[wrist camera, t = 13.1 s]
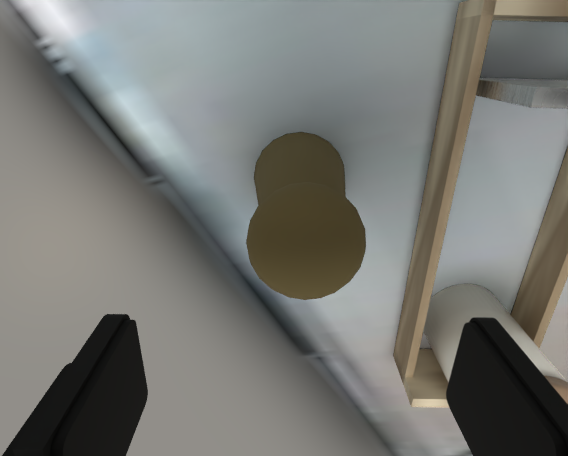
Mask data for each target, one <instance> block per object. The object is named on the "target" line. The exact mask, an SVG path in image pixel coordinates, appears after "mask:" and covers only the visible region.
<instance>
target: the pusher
mask: <svg viewBox="0 0 568 456" xmlns="http://www.w3.org/2000/svg"><path fill="white" fill-rule="evenodd" d="M476 95H477V96H482V97H486V98H490V99H495V100H499V101H504V102H508V103H513V104H517V105H521V106H526V107H530V108H568V80H556V79H510V78H479V83H478V87H477V92H476Z"/></svg>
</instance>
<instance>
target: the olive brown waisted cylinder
mask: <svg viewBox="0 0 568 456" xmlns="http://www.w3.org/2000/svg"><path fill="white" fill-rule="evenodd" d="M254 180H255V186H256V193H257V199H258V205H259V206H258V207H257V209H256V211H255V213H254V215H253V217H252V218H251V220H250V224H249V229H248V235H247V241H246V244H247V249H248V254H249V259H250V262H251V265H252V267H253V268H254V270H255V272H256V273H257V275H258V277H259V278H260V279H261V280H262V281H263V282H264V283H265V284H267V285H268V286H269V287H270V288H271V289H273V290H274V291H276V292H279V293H281V294H283V295H285V296H287V297H290V298H297V299H303V300H307V299H317V298H322V297H325V296H327V295H330V294H332V293H335V292H336V291H338V290H339V289H340V288H342V287H343V286H344V285H346V284H347V283H348V282H349V281H351V279H352V278H353V277H354V275H355V274H356V272H357V271H358V270H359V268H360V267H361V263H362V260H363V257H364V254H365V249H366V238H365V228H364V225H363V223H362V221H361V218H360V216H359V214H358V211H357V209H356V208H355V207H354V206H353V204H352V203H351V202H350V201H349V200H348V199H347V198H346V196H345V173H344V164H343V162H342V160H341V157H340V155H339V153H338V151H337V150H336V149H335V148H334V147H333V146H332V145H331V144H330V143H329V142H328V141H326V140H325V139H323V138H321V137H319V136H317V135H315V134H309V133H304V132H298V133H290V134H286V135H283V136H281V137H279V138H277V139H275V140H273V141H272V142H271V143H270V144H269V145H268V146H267V147H266V148H265V149H264V150H263V151H262V153H261V155H260V157H259V159H258V160H257V162H256V167H255V173H254Z"/></svg>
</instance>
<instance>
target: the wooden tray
mask: <svg viewBox="0 0 568 456" xmlns="http://www.w3.org/2000/svg"><path fill="white" fill-rule="evenodd" d="M492 20H502V21H547V22H568V0H467V1H464V2H461V3H459V7H458V12H457V18H456V23H455V28H454V34H453V39H452V44H451V50H450V55H449V60H448V66H447V71H446V76H445V82H444V87H443V92H442V98H441V103H440V109H439V114H438V119H437V125H436V130H435V135H434V141H433V146H432V151H431V157H430V162H429V167H428V173H427V178H426V183H425V189H424V194H423V200H422V205H421V210H420V216H419V221H418V226H417V232H416V237H415V242H414V248H413V253H412V258H411V264H410V269H409V274H408V280H407V285H406V291H405V296H404V301H403V307H402V312H401V317H400V323H399V328H398V333H397V339H396V344H395V349H394V355H393V356H394V359H395V362H396V365H397V368H398V370H399V373H400V376H401V379H402V382H403V385H404V388H405V390H406V393H407V396H408V399H409V402H410V405H411V407H445V408H450V407H449V405H448V403H447V399H446V390H447V386H448V381H447V379H446V377H445V375H444V373H443V371H442V368H441V366H440V364H439V362H438V360H437V358H436V356H435V354H434V352H433V350H432V349H419V348H420V343H421V339H422V334H423V330H424V325H425V321H426V316H427V312H428V307H429V303H430V298H431V294H432V289H433V285H434V280H435V276H436V271H437V267H438V262H439V258H440V253H441V249H442V244H443V240H444V235H445V231H446V226H447V222H448V217H449V213H450V208H451V204H452V199H453V195H454V190H455V186H456V181H457V177H458V172H459V168H460V163H461V159H462V154H463V150H464V146H465V141H466V137H467V132H468V128H469V123H470V119H471V114H472V110H473V105H474V101H475V96H476V92H477V87H478V83H479V78H480V74H481V69H482V65H483V60H484V56H485V51H486V47H487V42H488V38H489V33H490V29H491V24H492ZM567 277H568V148H567V151H566V154H565V157H564V160H563V163H562V166H561V169H560V172H559V174H558V177H557V180H556V183H555V186H554V189H553V192H552V195H551V198H550V201H549V204H548V207H547V210H546V213H545V216H544V219H543V222H542V225H541V228H540V230H539V233H538V236H537V239H536V242H535V245H534V248H533V251H532V254H531V257H530V260H529V263H528V266H527V269H526V272H525V275H524V278H523V281H522V284H521V286H520V289H519V292H518V295H517V298H516V301H515V304H514V307H513V310H512V313H511V316H512V317H513V318H514V320H515V321H516V322H517V323H518V324H519V325H520V327H521V328H522V329H523V330H524V331H525V332H526V334H527V335H528V336H529V337H530V338H531V339H532V341H533V342H534V343H535V344H536V345H537V347H538V348H540V345H541V343H542V340H543V338H544V335H545V333H546V330H547V328H548V325H549V323H550V320H551V318H552V315H553V313H554V310H555V308H556V305H557V302H558V300H559V297H560V295H561V292H562V290H563V287H564V285H565V282H566V280H567Z"/></svg>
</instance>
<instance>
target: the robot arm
mask: <svg viewBox="0 0 568 456" xmlns="http://www.w3.org/2000/svg"><path fill="white" fill-rule="evenodd" d="M147 395H148V390H147V383H146V378H145V372H144V366H143V360H142V355H141V349H140V343H139V337H138V332H137V326H136V322H135V320H130V318H129V316H128V315H126V314H107V315H105V316H104V317H103V318H102V319H101V321H100V322H99V324H98V325H97V327H96V328H95V330H94V331H93V333H92V334H91V336H90V337H89V338H88V340H87V341H86V343H85V344H84V346H83V347H82V349H81V350H80V352H79V353H78V355H77V356H76V358H75V359H74V361H73V362H72V363H69V364H68V365H66V366H65V367H64V368H63V369H62V371H61V372H60V373H59V375H58V376H57V378H56V379H55V381H54V382H53V384H52V385H51V386H50V388H49V389H48V391H47V392H46V393H45V395H44V397H43V398H42V399H41V401H40V402H39V404H38V405H37V406H36V408H35V409H34V411H33V412H32V414H31V415H30V417H29V418H28V419H27V421H26V422H25V424H24V425H23V426H22V428H21V429H20V431H19V432H18V434H17V435H16V436H15V438H14V439H13V441H12V442H11V444H10V445H9V447H8V448H7V450H6V451H5V452H4V454H3V455H2V456H126V453H127V451H128V448H129V446H130V443H131V440H132V438H133V435H134V433H135V430H136V427H137V425H138V422H139V420H140V417H141V415H142V412H143V409H144V407H145V404H146V401H147ZM446 399H447V403H448V405H449V407H450V409H451V411H452V414H453V416H454V418H455V420H456V422H457V424H458V426H459V428H460V430H461V432H462V434H463V436H464V438H465V440H466V442H467V444H468V446H469V448H470V450H471V452H472V454H473V456H568V404H567V403H566V402H565V400H564V399H563V398H562V397H561V396H560V394H559V393H558V392H557V391H556V390H555V388H554V387H553V386H552V385H551V384H550V382H549V381H548V380H547V379H546V378H545V376H544V375H543V374H542V373H541V372H540V371H539V369H538V368H537V367H536V366H535V365H534V363H533V362H532V361H531V360H530V359H529V357H528V356H527V355H526V354H525V353H524V351H523V350H522V349H521V348H520V347H519V345H518V344H517V343H516V342H515V341H514V339H513V338H512V337H511V336H510V335H509V333H508V332H507V331H506V330H505V329H504V328H503V326H502V325H501V324H500V323H499V322H498V320H496V319H495V318H489V317H474V318H471V319H470V321H469V322H467V323H465V324H464V326H463V330H462V334H461V337H460V341H459V345H458V349H457V352H456V356H455V360H454V364H453V367H452V371H451V375H450V379H449V382H448V386H447V390H446Z"/></svg>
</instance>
